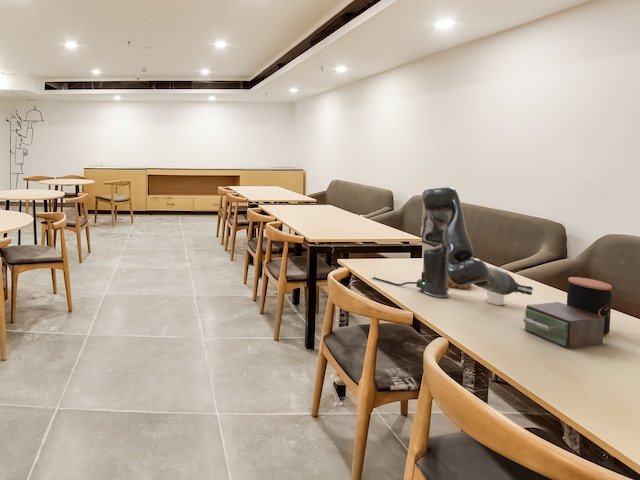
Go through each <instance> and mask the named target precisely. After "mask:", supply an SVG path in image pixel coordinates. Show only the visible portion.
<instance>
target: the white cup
mask: <svg viewBox="0 0 640 480" xmlns="http://www.w3.org/2000/svg"><path fill="white" fill-rule="evenodd" d="M487 267H488V268H492V269H496V270H499V271H501V272H504V273H507V274H508V271H507V270H506V269H503V268H499V267H493V266H487ZM504 300H505V295H501V294H497V293H494V292H491V291H488V290H486V301H487V303H489V304H491V305H495V306H503V305H504V302H505V301H504Z"/></svg>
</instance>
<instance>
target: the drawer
mask: <svg viewBox="0 0 640 480" xmlns="http://www.w3.org/2000/svg"><path fill="white" fill-rule="evenodd" d="M524 316H525V317H524V318H523V322H524V330H525V329H526V330H528V331H531V332H533V333H535V334H538V335H540V336H543V337H545V338H547V339H550V340H552V341H555V342H557V343H559V344H562V345H564V346H566V345H567V337H568V322H565V321H563V320H560V319H557V318H554V317H552V316H549V315H546V314H544V313H541V312H538V311H535V310H531V309H529V308H525V315H524ZM526 330H525V331H526ZM528 331H527V332H528ZM533 333H532V334H533ZM535 334H534V335H535ZM538 335H537V336H538ZM540 336H539V337H540ZM545 338H544V339H545ZM547 339H546V340H547ZM552 341H551V342H552ZM557 343H556V344H557ZM559 344H558V345H559ZM564 346H563V347H564Z"/></svg>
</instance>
